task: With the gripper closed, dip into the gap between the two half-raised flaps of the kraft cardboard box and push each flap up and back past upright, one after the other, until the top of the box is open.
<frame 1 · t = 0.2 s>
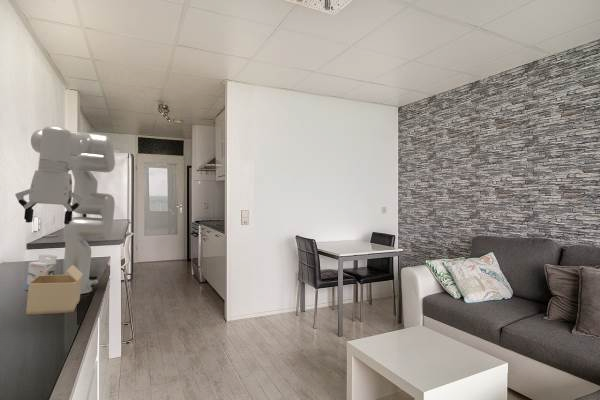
hand: (48, 223, 103), 31 cm above the worktop, tool pointing down, fingers open, 9 cm apart
flap one: (74, 272, 123), point 12 cm above the worktop, hinge at 45.0°
ink box: (39, 291, 141), on the worktop
carton: (54, 307, 120), on the worktop
flap two: (41, 273, 119), point 12 cm above the worktop, hinge at 45.0°
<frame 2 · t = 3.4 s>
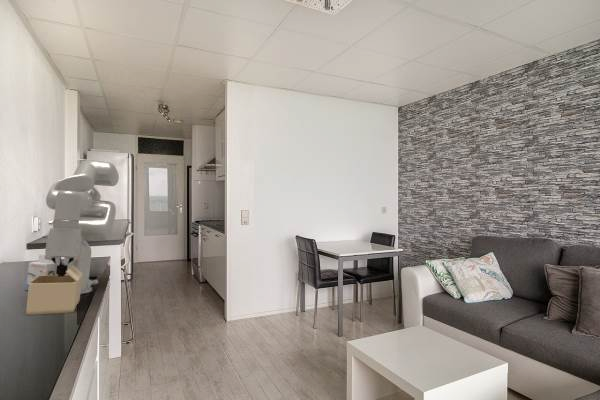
hand: (61, 275, 121), 11 cm above the worktop, tool pointing down, fingers closed
flap one: (74, 272, 123), point 12 cm above the worktop, hinge at 45.1°, touching gripper
everything else where it was.
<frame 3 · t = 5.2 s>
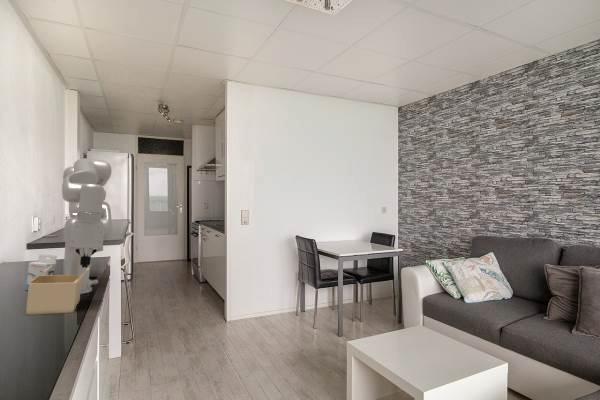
hand: (84, 267, 124), 14 cm above the worktop, tool pointing down, fingers closed
flap one: (84, 272, 124), point 12 cm above the worktop, hinge at 121.5°
everything else where it was.
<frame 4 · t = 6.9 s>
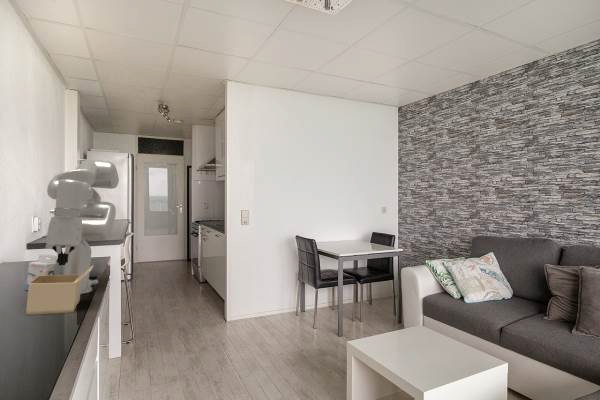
hand: (62, 264, 121), 15 cm above the worktop, tool pointing down, fingers closed
flap one: (85, 273, 124), point 12 cm above the worktop, hinge at 130.9°
everything else where it was.
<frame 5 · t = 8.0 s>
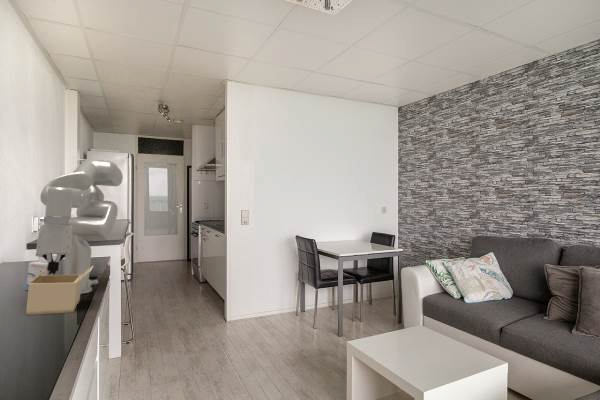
hand: (52, 272, 120), 12 cm above the worktop, tool pointing down, fingers closed
flap one: (85, 273, 124), point 12 cm above the worktop, hinge at 132.2°
flap two: (41, 273, 119), point 12 cm above the worktop, hinge at 47.0°, touching gripper
everything else where it was.
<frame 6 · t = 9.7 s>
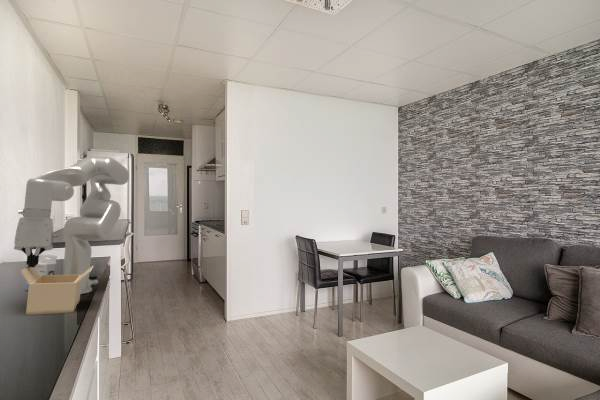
hand: (32, 266, 118), 14 cm above the worktop, tool pointing down, fingers closed
flap one: (85, 273, 124), point 12 cm above the worktop, hinge at 132.6°
flap two: (30, 273, 117), point 12 cm above the worktop, hinge at 120.4°
everything else where it was.
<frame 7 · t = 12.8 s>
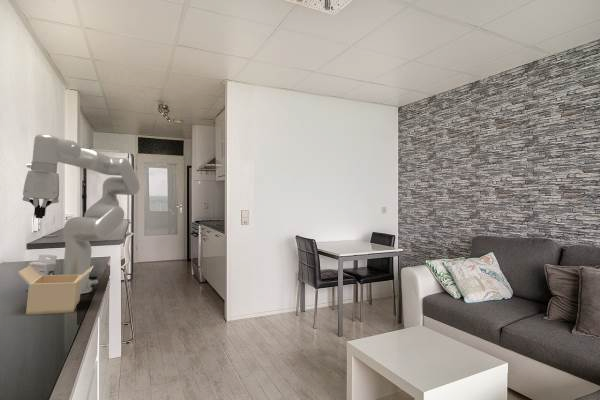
hand: (39, 218, 124), 31 cm above the worktop, tool pointing down, fingers closed
flap two: (29, 274, 117), point 12 cm above the worktop, hinge at 131.6°
everything else where it was.
at the end: flap one at +133° (first picture: +45°); flap two at +132° (first picture: +45°) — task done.
